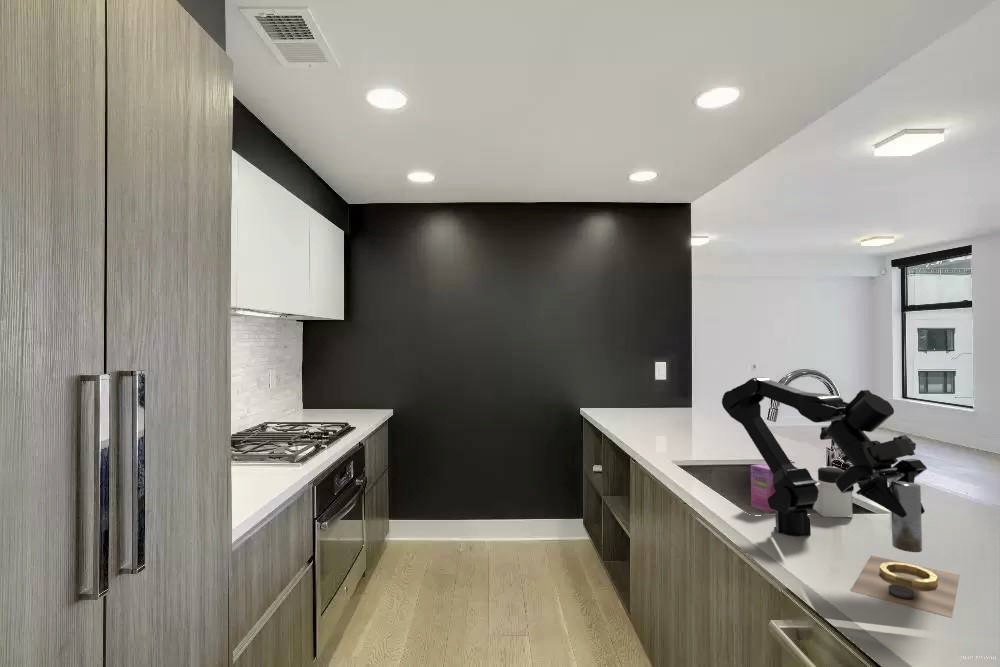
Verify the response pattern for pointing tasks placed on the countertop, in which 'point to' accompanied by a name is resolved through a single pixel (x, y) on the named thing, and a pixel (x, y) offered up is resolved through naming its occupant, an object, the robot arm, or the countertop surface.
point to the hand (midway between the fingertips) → (913, 514)
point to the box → (761, 486)
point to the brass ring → (914, 583)
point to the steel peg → (907, 517)
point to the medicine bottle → (832, 495)
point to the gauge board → (908, 588)
